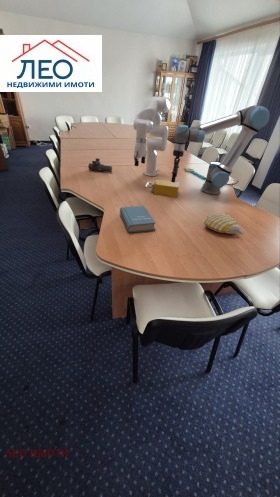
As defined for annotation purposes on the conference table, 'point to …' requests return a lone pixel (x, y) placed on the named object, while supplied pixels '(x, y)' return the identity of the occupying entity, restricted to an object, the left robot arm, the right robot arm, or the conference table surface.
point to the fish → (223, 224)
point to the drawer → (150, 187)
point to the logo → (194, 172)
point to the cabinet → (166, 188)
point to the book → (137, 219)
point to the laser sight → (99, 166)
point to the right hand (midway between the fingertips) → (173, 179)
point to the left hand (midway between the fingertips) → (139, 164)
